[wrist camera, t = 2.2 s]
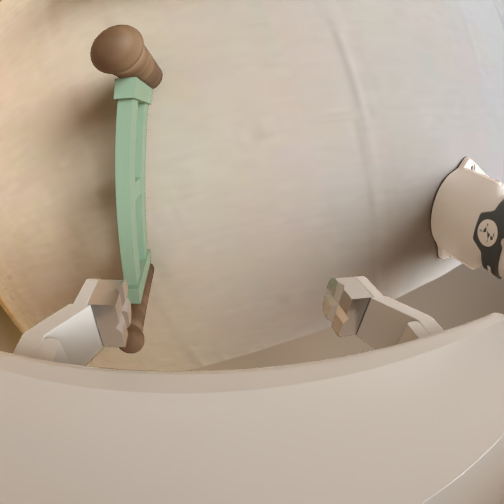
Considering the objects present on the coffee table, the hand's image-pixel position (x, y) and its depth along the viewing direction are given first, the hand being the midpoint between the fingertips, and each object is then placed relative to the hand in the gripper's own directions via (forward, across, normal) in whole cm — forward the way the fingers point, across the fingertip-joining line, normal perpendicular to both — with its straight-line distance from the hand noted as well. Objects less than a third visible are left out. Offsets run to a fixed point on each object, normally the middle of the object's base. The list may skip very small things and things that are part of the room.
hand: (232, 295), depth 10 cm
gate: (+20, -7, 0) cm, 21 cm away
